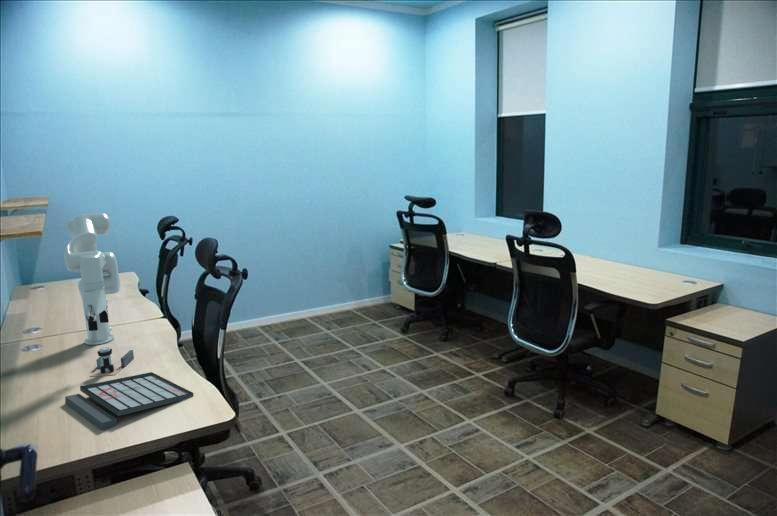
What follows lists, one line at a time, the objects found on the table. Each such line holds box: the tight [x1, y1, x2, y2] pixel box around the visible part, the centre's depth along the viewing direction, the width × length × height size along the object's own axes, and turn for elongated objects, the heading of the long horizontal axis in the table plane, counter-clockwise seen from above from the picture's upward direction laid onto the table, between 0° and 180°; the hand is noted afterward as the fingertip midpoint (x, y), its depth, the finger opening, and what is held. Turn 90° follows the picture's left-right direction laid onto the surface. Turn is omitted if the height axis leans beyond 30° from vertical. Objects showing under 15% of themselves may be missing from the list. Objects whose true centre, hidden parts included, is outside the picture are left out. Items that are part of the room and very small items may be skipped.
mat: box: [89, 367, 123, 378], centre depth 218 cm, size 7×10×1 cm, turn 94°
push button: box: [95, 346, 115, 373], centre depth 217 cm, size 7×5×10 cm
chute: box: [95, 349, 135, 370], centre depth 227 cm, size 10×11×4 cm
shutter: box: [64, 371, 194, 431], centre depth 193 cm, size 32×7×31 cm
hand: (99, 326), depth 216 cm, fingers open, 9 cm apart
